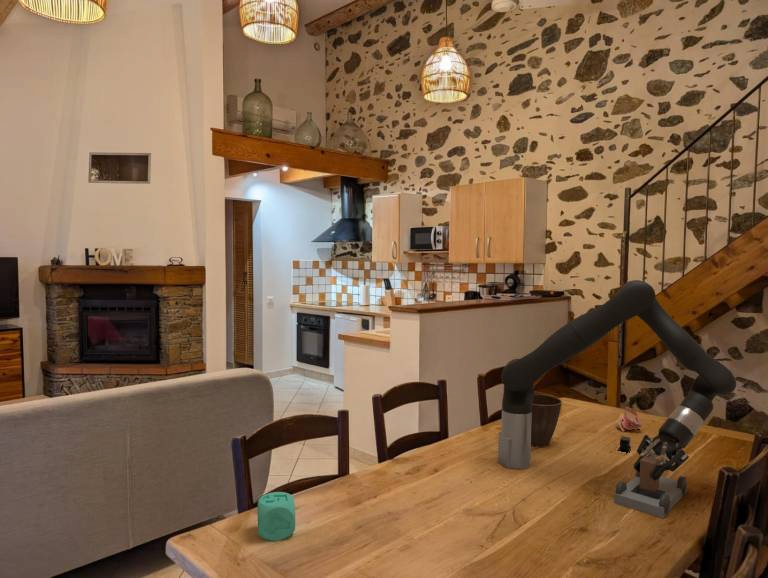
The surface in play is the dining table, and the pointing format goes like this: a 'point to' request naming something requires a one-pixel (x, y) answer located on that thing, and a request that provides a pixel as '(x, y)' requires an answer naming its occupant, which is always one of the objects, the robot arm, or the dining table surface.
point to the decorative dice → (276, 516)
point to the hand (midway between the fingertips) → (644, 473)
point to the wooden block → (648, 474)
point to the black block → (624, 444)
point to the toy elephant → (628, 420)
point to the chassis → (651, 495)
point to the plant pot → (544, 419)
